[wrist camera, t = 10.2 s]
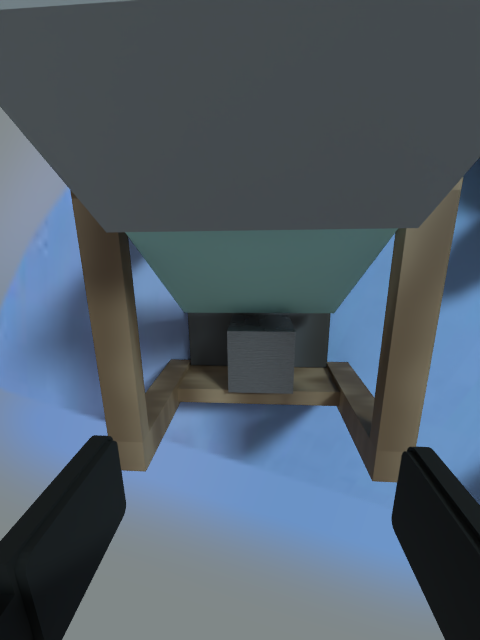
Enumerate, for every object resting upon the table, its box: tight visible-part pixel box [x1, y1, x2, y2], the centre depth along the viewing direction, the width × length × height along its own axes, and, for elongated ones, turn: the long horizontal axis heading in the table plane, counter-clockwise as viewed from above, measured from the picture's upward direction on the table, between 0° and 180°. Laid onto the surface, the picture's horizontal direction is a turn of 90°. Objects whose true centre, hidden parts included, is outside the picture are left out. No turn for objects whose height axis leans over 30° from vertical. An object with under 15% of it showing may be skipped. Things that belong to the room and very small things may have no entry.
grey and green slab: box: [0, 0, 480, 313], centre depth 14 cm, size 12×19×4 cm
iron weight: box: [227, 315, 296, 394], centre depth 24 cm, size 5×5×5 cm
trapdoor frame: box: [70, 176, 464, 482], centre depth 20 cm, size 17×17×12 cm
